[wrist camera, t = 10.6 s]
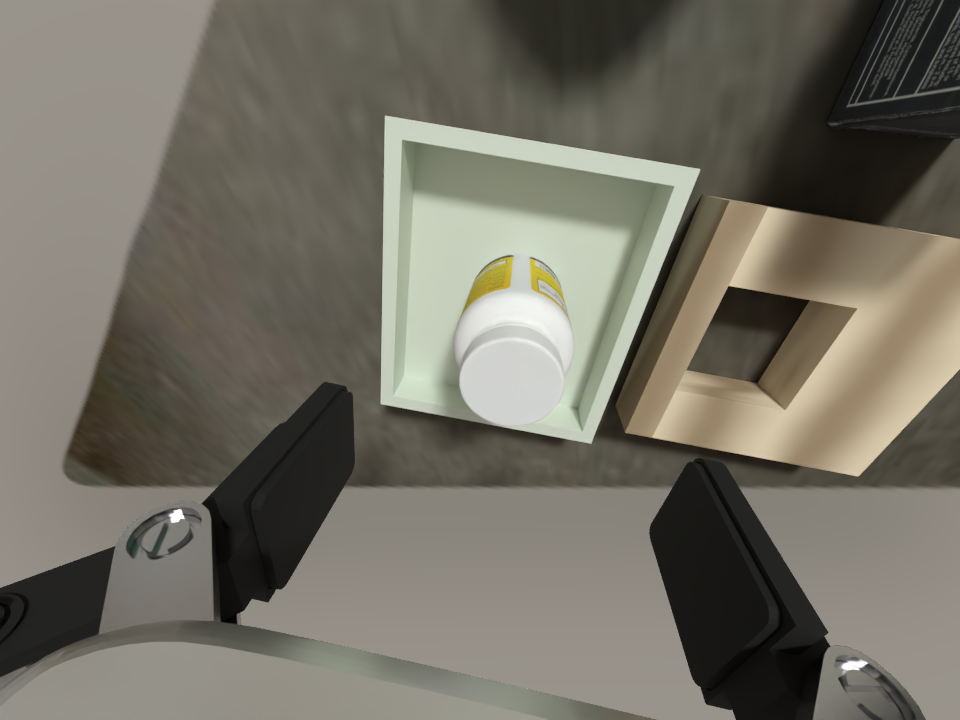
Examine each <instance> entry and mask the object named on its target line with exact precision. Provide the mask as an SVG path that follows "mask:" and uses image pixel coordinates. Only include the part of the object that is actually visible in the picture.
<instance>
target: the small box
mask: <svg viewBox="0 0 960 720" xmlns="http://www.w3.org/2000/svg"><path fill="white" fill-rule="evenodd" d="M827 123H828V125H829V126H830V127H831V128H832V129H833V130H837V129H838V130H847V129H849V130H851V129H858V130H859V131H864V130H869V131H872V132H877V131H879V132H889V133H897V134H899V135H901V134H908V135H916V137H918V138H922V137H923V138H952V139H955V138H960V0H884V1H883V3H882V5H881V8H880V10H879V12H878V14H877V16H876V18H875V20H874V22H873V25H872V27H871V29H870V31H869V33H868V35H867V37H866V40H865V42H864V44H863V46H862V48H861V50H860V53H859V55H858V57H857V59H856V61H855V63H854V65H853V67H852V69H851V71H850V74H849V76H848V78H847V80H846V83H845V85H844V87H843V89H842V91H841V94H840V95H839V97H838V99H837V102H836V104H835V106H834V108H833V110H832V113H831V115H830V117H829V119H828V121H827Z"/></svg>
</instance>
